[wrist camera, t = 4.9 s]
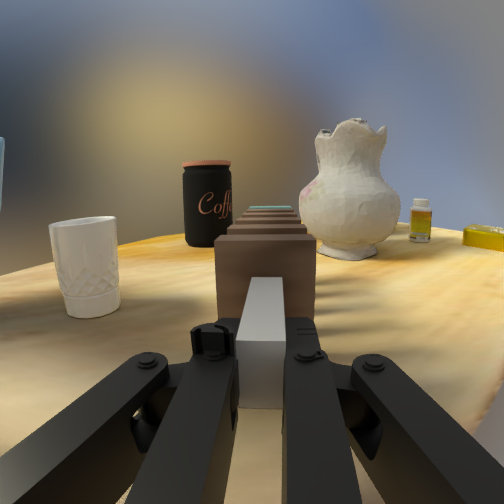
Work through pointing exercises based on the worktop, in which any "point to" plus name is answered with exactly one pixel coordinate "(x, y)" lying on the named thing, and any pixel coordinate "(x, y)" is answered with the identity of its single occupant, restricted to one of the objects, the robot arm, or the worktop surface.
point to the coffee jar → (206, 201)
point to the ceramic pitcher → (349, 192)
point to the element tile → (484, 237)
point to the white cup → (87, 265)
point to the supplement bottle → (420, 221)
